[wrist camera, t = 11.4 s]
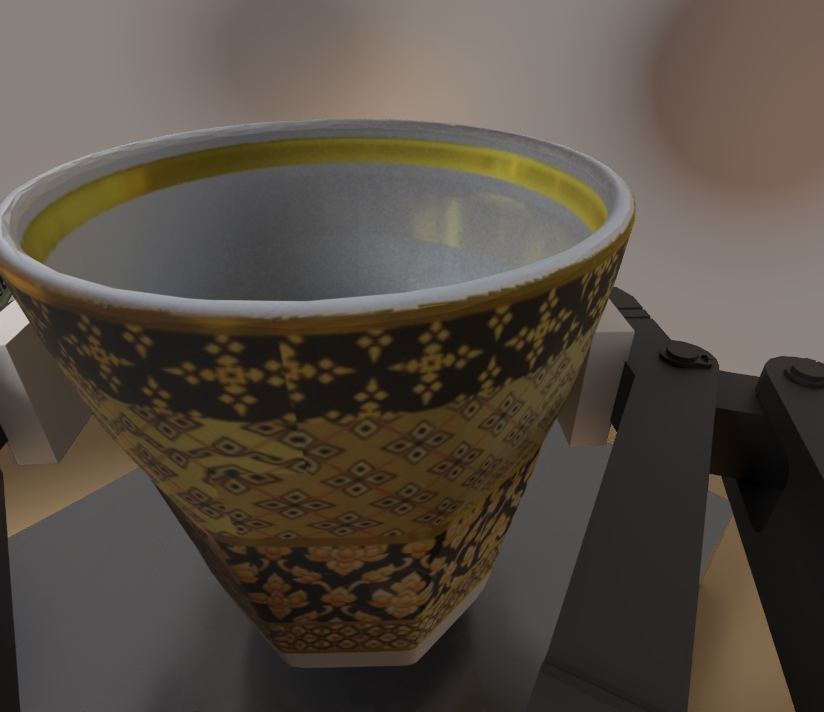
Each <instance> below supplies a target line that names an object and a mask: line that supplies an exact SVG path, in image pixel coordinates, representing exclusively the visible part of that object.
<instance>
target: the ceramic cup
mask: <svg viewBox="0 0 824 712" xmlns="http://www.w3.org/2000/svg"><path fill="white" fill-rule="evenodd" d="M635 209H636V208H635V200H634V195H633V194H632V192H631V191H630V189H629V187H628V186H627V184H626V183H625V181H624V180H623V179H622V178H620V177H619V176H618V175H617V174H616V173H615V172H613V171H612V170H611V169H610V168H609V167H607V166H606V165H604V164H602V163H601V162H599V161H597V160H595V159H593V158H592V157H590V156H588V155H585V154H583V153H581V152H578V151H576V150H573V149H571V148H568V147H566V146H562V145H559V144H556V143H552V142H549V141H546V140H543V139H539V138H535V137H531V136H526V135H522V134H518V133H513V132H508V131H502V130H496V129H490V128H483V127H477V126H469V125H462V124H452V123H443V122H434V121H415V120H398V119H312V120H294V121H277V122H262V123H253V124H244V125H234V126H225V127H216V128H208V129H201V130H195V131H189V132H183V133H177V134H171V135H166V136H161V137H157V138H152V139H148V140H143V141H138V142H134V143H129V144H126V145H122V146H118V147H114V148H110V149H107V150H104V151H100V152H96V153H93V154H90V155H87V156H85V157H82V158H79V159H76V160H73V161H70V162H67V163H64V164H62V165H60V166H57V167H55V168H53V169H51V170H49V171H46V172H44V173H42V174H40V175H38V176H36V177H34V178H32V179H30V180H29V181H27V182H25V183H23V184H22V185H21V186H19V187H18V188H16V189H15V190H14V191H12V192H11V193H10V194H8V195H7V196H6V197H5V198H3V199H2V200H1V202H0V276H1V278H2V279H3V281H4V283H5V284H6V286H7V287H8V289H9V290H10V292H11V294H12V295H13V297H14V298H15V300H16V302H17V303H18V305H19V306H20V308H21V309H22V311H23V313H24V314H25V316H26V317H27V319H28V321H29V322H30V324H31V325H32V327H33V328H34V330H35V332H36V333H37V335H38V336H39V338H40V340H41V341H42V343H43V344H44V346H45V348H46V349H47V350H48V352H49V353H50V355H51V356H52V357H53V359H54V360H55V362H56V363H57V364H58V366H59V367H60V368H61V370H62V371H63V373H64V374H65V375H66V377H67V378H68V380H69V381H70V382H71V384H72V385H73V386H74V388H75V389H76V391H77V392H78V393H79V395H80V396H81V398H82V399H83V400H84V402H85V403H86V405H87V406H88V407H89V409H90V410H91V411H92V413H93V414H94V416H95V417H96V418H97V420H98V421H99V423H100V424H101V425H102V427H103V428H104V429H105V430H106V431H107V432H108V433H109V434H110V436H111V437H112V438H113V439H114V440H115V441H116V442H117V443H118V444H119V445H120V446H121V448H122V449H123V450H124V451H125V452H126V453H127V454H128V455H129V456H130V457H131V458H132V459H133V460H134V462H135V463H136V464H137V465H138V466H139V467H140V468H141V469H142V470H143V471H144V472H145V473H146V474H147V476H148V477H149V478H150V479H151V481H152V482H153V484H154V485H155V487H156V488H157V490H158V491H159V493H160V494H161V496H162V497H163V499H164V500H165V502H166V503H167V505H168V506H169V508H170V509H171V511H172V512H173V514H174V515H175V517H176V518H177V520H178V521H179V523H180V524H181V526H182V527H183V529H184V530H185V532H186V533H187V535H188V536H189V538H190V539H191V540H192V542H193V543H194V544H195V546H196V548H197V549H198V551H199V553H200V554H201V556H202V558H203V559H204V561H205V563H206V565H207V566H208V568H209V570H210V571H211V573H212V574H213V575H214V576H215V578H216V579H217V580H218V582H219V583H220V585H221V586H222V588H223V589H224V590H225V592H226V593H227V594H228V596H229V597H230V598H231V600H232V601H233V602H234V603H235V604H236V605H237V607H238V608H239V609H240V610H241V611H242V612H243V614H244V615H245V616H246V617H247V618H248V619H249V621H250V622H251V623H252V624H253V625H254V627H255V628H256V629H257V630H258V631H259V632H260V634H261V635H262V636H263V637H264V638H265V639H266V641H267V642H268V643H269V644H270V645H271V646H272V648H273V649H274V650H275V651H276V652H277V653H278V655H279V656H280V657H281V658H282V659H283V660H284V661H285V663H286V664H288V665H290V666H292V667H300V668H328V667H370V666H403V665H412V664H414V663H416V662H417V661H418V660H419V659H420V658H421V657H422V656H423V655H424V654H425V653H426V652H427V651H428V650H429V649H430V648H431V647H432V646H433V645H434V643H435V642H436V641H437V640H438V639H439V638H440V637H441V636H442V635H443V634H444V633H445V632H446V631H447V630H448V629H449V628H450V626H451V625H452V624H453V623H454V622H455V621H456V620H457V619H458V618H459V617H460V616H461V615H462V614H463V613H464V612H465V611H466V609H467V608H468V607H469V606H470V605H471V604H472V603H473V602H474V601H475V600H476V599H477V597H478V595H479V594H480V592H481V591H482V590H483V589H484V587H485V585H486V582H487V580H488V578H489V575H490V573H491V571H492V568H493V566H494V565H495V563H496V560H497V557H498V555H499V552H500V549H501V546H502V544H503V541H504V538H505V535H506V533H507V531H508V529H509V527H510V525H511V522H512V520H513V518H514V515H515V513H516V510H517V508H518V506H519V503H520V501H521V499H522V496H523V494H524V492H525V489H526V487H527V485H528V482H529V480H530V478H531V475H532V473H533V470H534V468H535V465H536V462H537V459H538V456H539V453H540V451H541V448H542V445H543V442H544V440H545V438H546V436H547V434H548V432H549V431H550V429H551V427H552V425H553V423H554V421H555V419H556V418H557V416H558V414H559V412H560V410H561V408H562V406H563V405H564V403H565V401H566V399H567V397H568V395H569V394H570V392H571V389H572V387H573V385H574V382H575V380H576V377H577V375H578V373H579V370H580V368H581V366H582V363H583V361H584V358H585V356H586V354H587V351H588V349H589V346H590V344H591V342H592V339H593V337H594V334H595V332H596V329H597V327H598V324H599V322H600V319H601V317H602V314H603V312H604V309H605V307H606V304H607V302H608V299H609V297H610V294H611V292H612V289H613V286H614V283H615V280H616V277H617V274H618V271H619V268H620V265H621V262H622V258H623V255H624V252H625V249H626V246H627V243H628V240H629V237H630V234H631V231H632V228H633V224H634V222H635V211H636V210H635Z"/></svg>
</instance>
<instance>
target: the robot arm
mask: <svg viewBox="0 0 824 712" xmlns="http://www.w3.org/2000/svg"><path fill="white" fill-rule="evenodd" d="M92 414H93V413H92V411H91V410H90V409H89V407H88V406H87V405H86V403H85V402H84V400H83V399H82V398H81V396H80V395H79V393H78V392H77V391H76V389H75V388H74V386H73V385H72V384H71V382H70V381H69V380H68V378H67V377H66V375H65V374H64V373H63V371H62V370H61V368H60V367H59V366H58V364H57V363H56V362H55V360H54V359H53V357H52V356H51V355H50V353H49V352H48V350H47V349H46V348H45V346H44V344H43V343H42V341H41V340H40V338H39V336H38V335H37V333H36V332H35V330H34V328H33V327H32V325H31V324H30V322H29V321H28V319H27V317H26V316H25V314H24V313H23V311H22V309H21V308H20V306H19V305H18V303H17V302H16V300H14V301H11V302H9V303H7V304H5V305H3V306H1V307H0V450H1V449H2V447H3V446H4V445H5V444H6V443H8V445H9V447H10V449H11V451H12V453H13V455H14V457H15V459H16V461H17V463H18V465H36V464H59V462H60V461H61V459H62V458H63V456H64V455H65V453H66V452H67V450H68V449H69V448H70V446H71V445H72V443H73V442H74V440H75V439H76V437H77V436H78V434H79V433H80V431H81V430H82V429H83V427H84V426H85V424H86V423H87V421H88V420H89V418H90V417H91V415H92ZM557 419H558V422H559V424H560V426H561V429H562V431H563V433H564V435H565V438H566V440H567V442H568V445H569V447H584V446H606V442H607V438H608V435H609V431H610V427H611V423H612V425H613V426H614V428H615V430H616V432H617V435H616V438H615V441H614V444H613V447H612V450H611V453H610V457H609V460H608V463H607V466H606V469H605V472H604V475H603V479H602V482H601V485H600V488H599V491H598V494H597V497H596V501H595V504H594V507H593V510H592V513H591V516H590V519H589V523H588V526H587V529H586V532H585V535H584V538H583V541H582V545H581V548H580V551H579V554H578V557H577V560H576V564H575V567H574V570H573V573H572V576H571V579H570V582H569V586H568V589H567V592H566V595H565V598H564V601H563V604H562V608H561V611H560V614H559V617H558V620H557V623H556V626H555V630H554V633H553V636H552V639H551V642H550V645H549V648H548V651H547V654H546V657H545V660H544V661H543V662H542V665H541V667H540V670H539V673H538V676H537V679H536V682H535V685H534V688H533V691H532V694H531V697H530V700H529V703H528V706H527V710H526V712H687V707H688V696H689V686H690V675H691V664H692V654H693V643H694V632H695V621H696V611H697V600H698V589H699V578H700V568H701V557H702V546H703V536H704V525H705V514H706V503H707V493H708V482H709V474H714V475H719V476H722V480H723V483H724V486H725V490H726V493H727V496H728V499H729V502H730V505H731V509H732V512H733V515H734V518H735V521H736V524H737V528H738V531H739V534H740V537H741V540H742V543H743V547H744V550H745V553H746V556H747V559H748V562H749V566H750V569H751V572H752V575H753V578H754V581H755V584H756V588H757V591H758V594H759V597H760V600H761V603H762V607H763V610H764V613H765V616H766V619H767V622H768V626H769V629H770V632H771V635H772V638H773V641H774V645H775V648H776V651H777V654H778V657H779V660H780V664H781V667H782V670H783V673H784V676H785V679H786V683H787V686H788V689H789V692H790V695H791V698H792V702H793V705H794V708H795V711H796V712H824V364H823V363H821V362H816V361H815V360H811V359H808V358H804V359H803V358H798V357H786V356H780V357H776V358H772V359H770V360H769V361H768V362H767V363H766V364H765V366H764V368H763V371H762V373H761V376H760V377H756V376H750V375H743V374H737V373H731V372H725V371H720V370H719V365H718V362H717V360H716V358H715V357H713V356H712V355H711V354H710V353H709V352H708V351H706V350H704V349H702V348H700V347H698V346H695V345H692V344H689V343H686V342H681V341H674V340H671V339H670V338H669V337H668V336H667V335H666V334H665V332H664V331H663V330H662V329H661V328H660V327H659V326H658V324H657V323H656V322H655V321H654V320H653V319H650V315H649V314H648V313H647V312H646V311H645V310H643V309H642V306H641V305H640V304H639V303H638V302H637V300H636V299H635V298H634V297H633V296H631V295H629V294H628V293H626V292H624V291H622V290H620V289H619V288H617V287H613V289H612V292H611V294H610V297H609V299H608V302H607V304H606V307H605V309H604V312H603V314H602V317H601V319H600V322H599V324H598V327H597V329H596V332H595V334H594V337H593V339H592V342H591V344H590V346H589V349H588V351H587V354H586V356H585V358H584V361H583V363H582V366H581V368H580V370H579V373H578V375H577V377H576V380H575V382H574V385H573V387H572V389H571V392H570V394H569V395H568V397H567V399H566V401H565V403H564V405H563V406H562V408H561V410H560V412H559V414H558V416H557ZM0 712H21V711H20V698H19V685H18V671H17V658H16V644H15V631H14V618H13V604H12V591H11V577H10V564H9V550H8V537H7V524H6V510H5V497H4V483H3V473H2V471H1V469H0Z"/></svg>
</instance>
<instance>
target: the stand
mask: <svg viewBox="0 0 824 712" xmlns="http://www.w3.org/2000/svg"><path fill="white" fill-rule="evenodd" d="M612 447H613V445H611V444H609V443H607V442H606V446H584V447H569V445H568V442H567V440H566V438H565V435H564V433H563V431H562V429H561V426H560V424H559V422H558V419H557V418H556V419H555V421H554V423H553V425H552V427H551V429H550V431H549V432H548V434H547V436H546V438H545V440H544V442H543V445H542V448H541V451H540V453H539V456H538V459H537V462H536V465H535V468H534V470H533V473H532V475H531V478H530V480H529V482H528V485H527V487H526V489H525V492H524V494H523V496H522V499H521V501H520V503H519V506H518V508H517V510H516V513H515V515H514V518H513V520H512V522H511V525H510V527H509V529H508V531H507V533H506V535H505V538H504V541H503V544H502V546H501V549H500V552H499V555H498V557H497V560H496V563H495V565H494V566H493V568H492V571H491V573H490V575H489V578H488V580H487V582H486V585H485V587H484V589H483V590H482V591H481V592H480V594H479V595H478V597H477V599H476V600H475V601H474V602H473V603H472V604H471V605H470V606H469V607H468V608H467V609H466V611H465V612H464V613H463V614H462V615H461V616H460V617H459V618H458V619H457V620H456V621H455V622H454V623H453V624H452V625H451V626H450V628H449V629H448V630H447V631H446V632H445V633H444V634H443V635H442V636H441V637H440V638H439V639H438V640H437V641H436V642H435V643H434V645H433V646H432V647H431V648H430V649H429V650H428V651H427V652H426V653H425V654H424V655H423V656H422V657H421V658H420V659H419V660H418V661H417V662H416V663H414V664H412V665H403V666H370V667H328V668H300V667H292V666H290V665H288V664H286V663H285V661H284V660H283V659H282V658H281V657H280V656H279V655H278V653H277V652H276V651H275V650H274V649H273V648H272V646H271V645H270V644H269V643H268V642H267V641H266V639H265V638H264V637H263V636H262V635H261V634H260V632H259V631H258V630H257V629H256V628H255V627H254V625H253V624H252V623H251V622H250V621H249V619H248V618H247V617H246V616H245V615H244V614H243V612H242V611H241V610H240V609H239V608H238V607H237V605H236V604H235V603H234V602H233V601H232V600H231V598H230V597H229V596H228V594H227V593H226V592H225V590H224V589H223V588H222V586H221V585H220V583H219V582H218V580H217V579H216V578H215V576H214V575H213V574H212V573H211V571H210V570H209V568H208V566H207V565H206V563H205V561H204V559H203V558H202V556H201V554H200V553H199V551H198V549H197V548H196V546H195V544H194V543H193V542H192V540H191V539H190V538H189V536H188V535H187V533H186V532H185V530H184V529H183V527H182V526H181V524H180V523H179V521H178V520H177V518H176V517H175V515H174V514H173V512H172V511H171V509H170V508H169V506H168V505H167V503H166V502H165V500H164V499H163V497H162V496H161V494H160V493H159V491H158V490H157V488H156V487H155V485H154V484H153V482H152V481H151V479H150V478H149V477H148V476H147V474H146V473H145V472H144V471H143V470H142V469H141V468H138V469H136V470H134V471H132V472H131V473H129V474H127V475H125V476H123V477H121V478H119V479H118V480H116V481H114V482H112V483H110V484H108V485H106V486H105V487H103V488H101V489H99V490H97V491H95V492H93V493H91V494H90V495H88V496H86V497H84V498H82V499H80V500H78V501H77V502H75V503H73V504H71V505H69V506H67V507H65V508H63V509H62V510H60V511H58V512H56V513H54V514H52V515H50V516H49V517H47V518H45V519H43V520H41V521H39V522H37V523H36V524H34V525H32V526H30V527H28V528H26V529H24V530H22V531H21V532H19V533H17V534H15V535H13V536H11V537H9V538H8V550H9V564H10V577H11V591H12V604H13V618H14V631H15V644H16V658H17V671H18V685H19V698H20V711H21V712H526V710H527V706H528V703H529V700H530V697H531V694H532V691H533V688H534V685H535V682H536V679H537V676H538V673H539V670H540V667H541V665H542V662H543V661H544V660H545V657H546V654H547V651H548V648H549V645H550V642H551V639H552V636H553V633H554V630H555V626H556V623H557V620H558V617H559V614H560V611H561V608H562V604H563V601H564V598H565V595H566V592H567V589H568V586H569V582H570V579H571V576H572V573H573V570H574V567H575V564H576V560H577V557H578V554H579V551H580V548H581V545H582V541H583V538H584V535H585V532H586V529H587V526H588V523H589V519H590V516H591V513H592V510H593V507H594V504H595V501H596V497H597V494H598V491H599V488H600V485H601V482H602V479H603V475H604V472H605V469H606V466H607V463H608V460H609V457H610V453H611V450H612ZM732 515H733V512H732V509H731V505H730V502H729V501H728V500H726V499H724V498H722V497H720V496H718V495H716V494H714V493H712V492H710V491H708V493H707V503H706V514H705V525H704V536H703V546H702V557H701V568H700V578H699V586H700V584H701V582H702V580H703V578H704V576H705V573H706V571H707V569H708V567H709V565H710V563H711V560H712V558H713V556H714V554H715V552H716V550H717V547H718V545H719V543H720V541H721V539H722V537H723V534H724V532H725V530H726V528H727V526H728V523H729V521H730V519H731V517H732Z"/></svg>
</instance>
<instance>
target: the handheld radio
mask: <svg viewBox="0 0 824 712" xmlns="http://www.w3.org/2000/svg"><path fill="white" fill-rule="evenodd" d="M11 295H12V294H11V292H10V290H9V289H8V287H7V286H6V284H5V283H4V281H3V279H2V278H1V276H0V307H1V306H3V305H5V304H7V303H8V301H9V299H10V297H11Z"/></svg>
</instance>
